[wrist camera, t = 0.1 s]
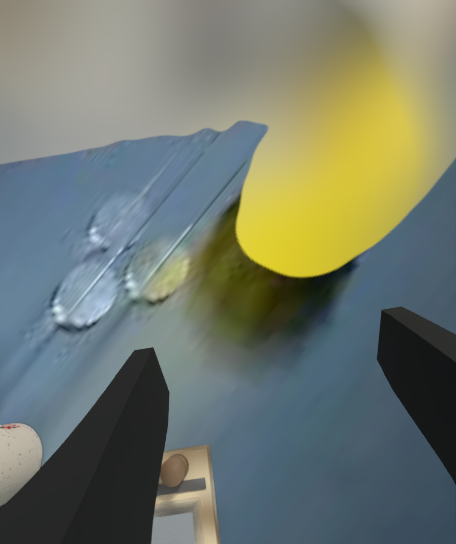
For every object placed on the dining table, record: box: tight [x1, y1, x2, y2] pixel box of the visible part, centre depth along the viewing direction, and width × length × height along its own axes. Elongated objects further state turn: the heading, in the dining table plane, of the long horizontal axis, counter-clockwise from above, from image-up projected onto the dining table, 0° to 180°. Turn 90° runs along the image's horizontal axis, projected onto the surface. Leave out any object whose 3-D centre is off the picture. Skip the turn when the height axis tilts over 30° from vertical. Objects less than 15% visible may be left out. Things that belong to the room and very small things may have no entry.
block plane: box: [155, 444, 221, 544], centre depth 33 cm, size 14×7×5 cm, turn 9°
